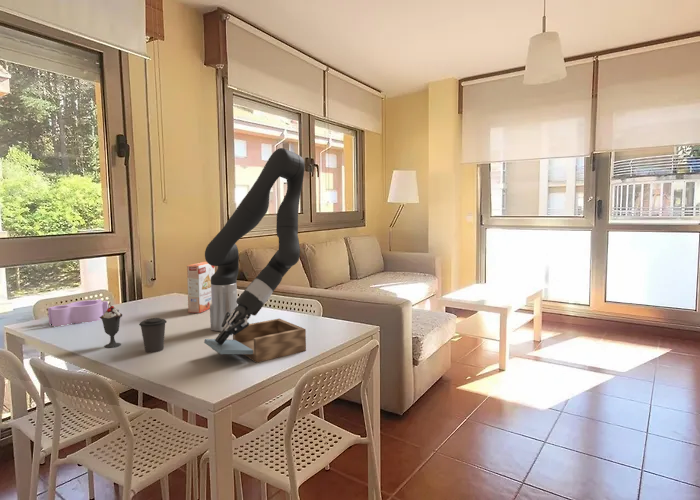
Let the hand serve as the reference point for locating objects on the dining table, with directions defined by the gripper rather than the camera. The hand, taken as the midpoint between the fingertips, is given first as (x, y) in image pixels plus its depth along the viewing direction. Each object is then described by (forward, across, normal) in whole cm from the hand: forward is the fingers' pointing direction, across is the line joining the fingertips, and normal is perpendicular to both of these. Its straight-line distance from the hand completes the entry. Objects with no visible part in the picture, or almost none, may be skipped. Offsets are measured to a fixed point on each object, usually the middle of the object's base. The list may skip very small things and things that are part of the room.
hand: (218, 342), depth 130 cm
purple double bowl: (+23, -82, -15) cm, 86 cm away
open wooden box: (-8, 0, +16) cm, 17 cm away
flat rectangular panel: (-3, 0, +8) cm, 9 cm away
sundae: (+19, -36, -12) cm, 43 cm away
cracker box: (-10, -68, +18) cm, 71 cm away
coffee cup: (+13, -23, -5) cm, 27 cm away
